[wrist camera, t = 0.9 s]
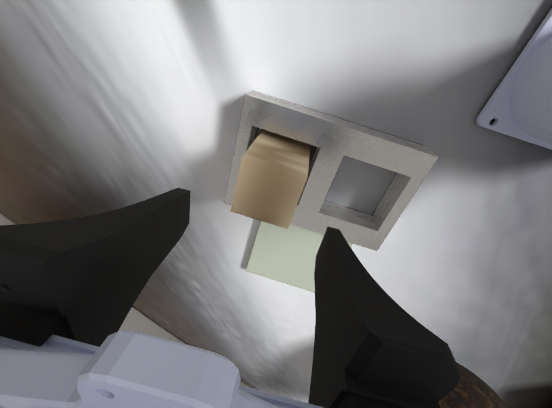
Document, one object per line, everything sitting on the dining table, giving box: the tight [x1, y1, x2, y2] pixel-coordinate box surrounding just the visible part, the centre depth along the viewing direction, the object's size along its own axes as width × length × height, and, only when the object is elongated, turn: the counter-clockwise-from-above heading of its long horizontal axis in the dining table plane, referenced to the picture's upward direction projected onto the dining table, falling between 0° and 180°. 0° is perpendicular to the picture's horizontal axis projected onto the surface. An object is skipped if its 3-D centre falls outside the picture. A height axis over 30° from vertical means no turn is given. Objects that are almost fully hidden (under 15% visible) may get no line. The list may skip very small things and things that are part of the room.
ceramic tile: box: [246, 221, 353, 293], centre depth 26 cm, size 9×8×1 cm
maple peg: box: [231, 129, 310, 229], centre depth 19 cm, size 4×4×7 cm
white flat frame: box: [224, 91, 439, 251], centre depth 21 cm, size 14×9×2 cm, turn 74°
